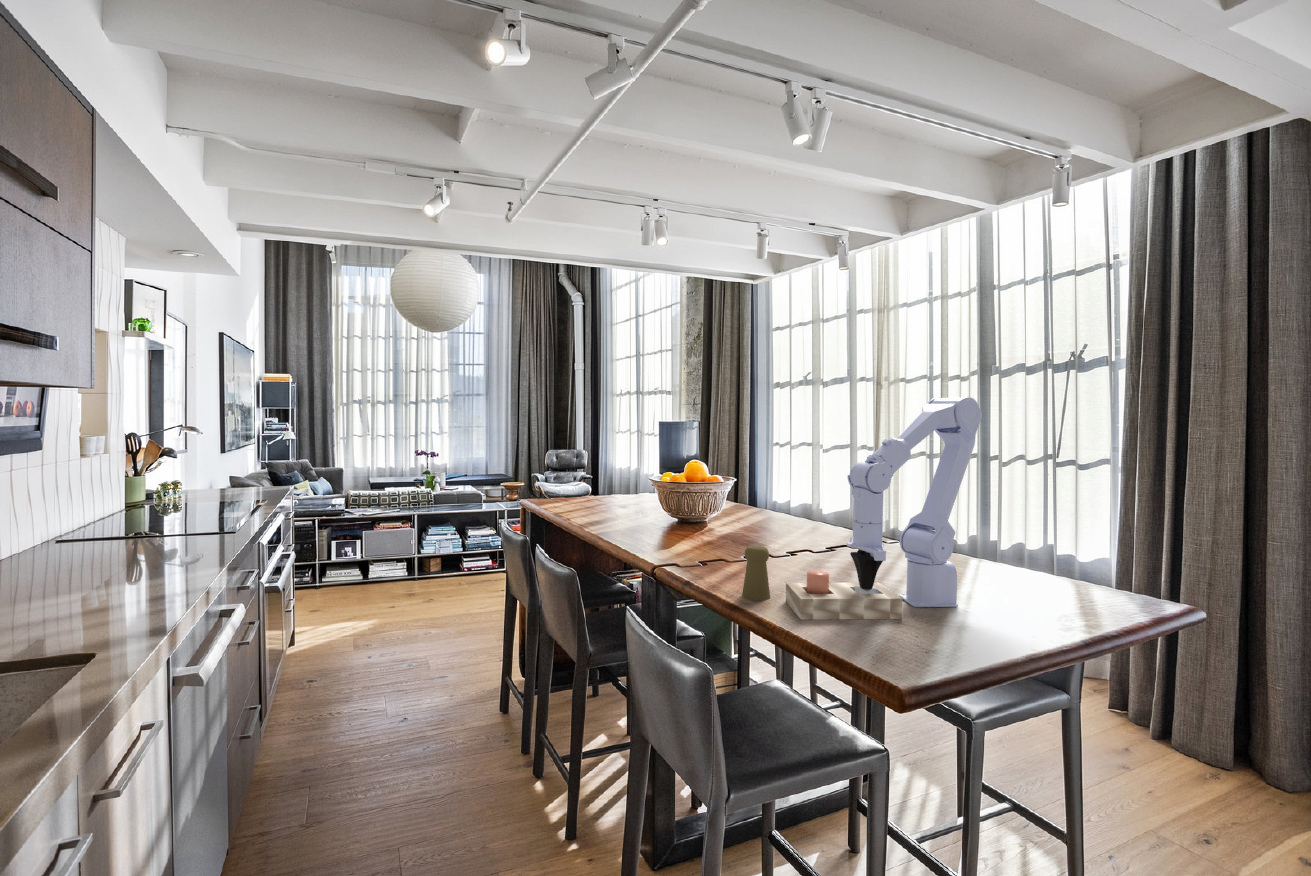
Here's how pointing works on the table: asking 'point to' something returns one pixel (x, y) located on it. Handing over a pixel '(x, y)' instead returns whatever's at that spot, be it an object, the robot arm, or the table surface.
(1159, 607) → the table surface
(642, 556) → the table surface
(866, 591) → the steel plunger
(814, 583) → the pink rounded cube
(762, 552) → the olive pawn
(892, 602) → the button board
